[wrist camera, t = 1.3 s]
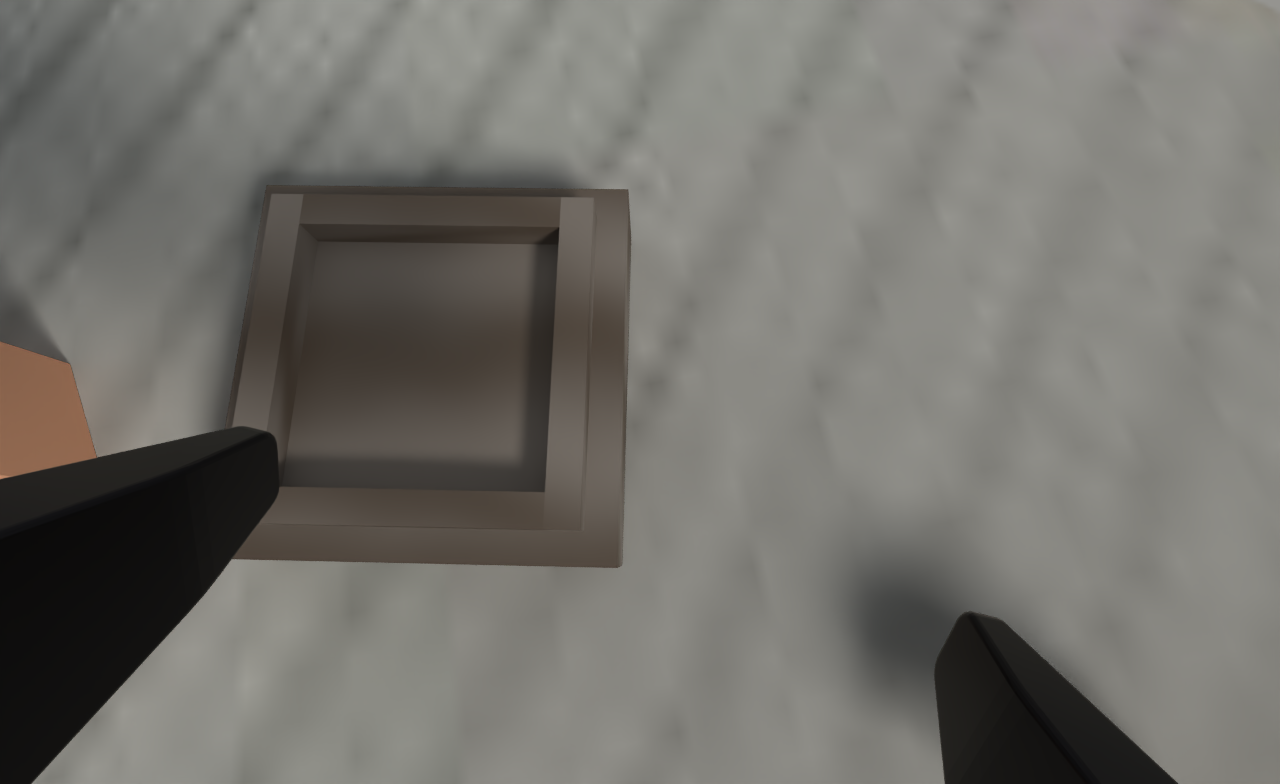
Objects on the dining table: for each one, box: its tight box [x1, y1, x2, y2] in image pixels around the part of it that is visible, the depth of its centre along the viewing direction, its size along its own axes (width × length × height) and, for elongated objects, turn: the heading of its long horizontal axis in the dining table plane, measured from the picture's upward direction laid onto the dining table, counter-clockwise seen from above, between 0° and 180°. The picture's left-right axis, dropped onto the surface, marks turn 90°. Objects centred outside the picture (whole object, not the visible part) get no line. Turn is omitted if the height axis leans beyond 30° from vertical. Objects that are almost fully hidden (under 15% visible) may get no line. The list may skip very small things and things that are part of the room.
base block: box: [225, 185, 631, 568], centre depth 21 cm, size 12×12×5 cm
